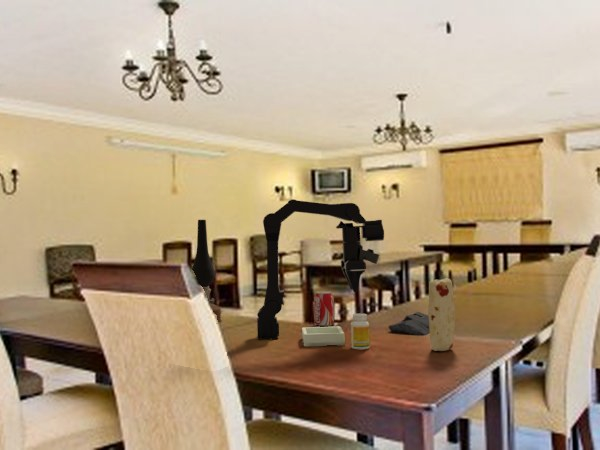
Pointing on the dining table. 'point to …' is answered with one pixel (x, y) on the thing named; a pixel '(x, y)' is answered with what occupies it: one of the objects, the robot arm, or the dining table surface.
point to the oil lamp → (204, 265)
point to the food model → (441, 314)
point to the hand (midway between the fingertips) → (353, 290)
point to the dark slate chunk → (413, 324)
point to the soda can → (323, 308)
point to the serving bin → (323, 336)
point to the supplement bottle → (360, 332)
